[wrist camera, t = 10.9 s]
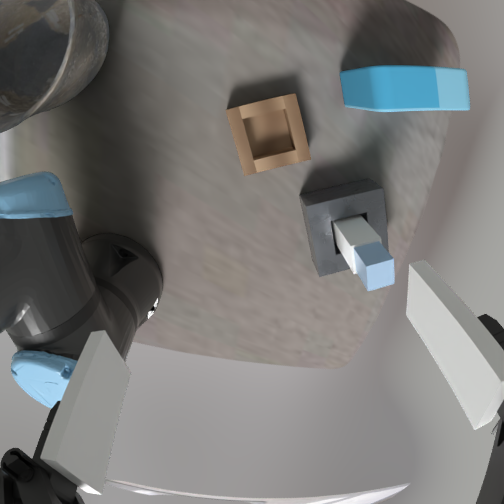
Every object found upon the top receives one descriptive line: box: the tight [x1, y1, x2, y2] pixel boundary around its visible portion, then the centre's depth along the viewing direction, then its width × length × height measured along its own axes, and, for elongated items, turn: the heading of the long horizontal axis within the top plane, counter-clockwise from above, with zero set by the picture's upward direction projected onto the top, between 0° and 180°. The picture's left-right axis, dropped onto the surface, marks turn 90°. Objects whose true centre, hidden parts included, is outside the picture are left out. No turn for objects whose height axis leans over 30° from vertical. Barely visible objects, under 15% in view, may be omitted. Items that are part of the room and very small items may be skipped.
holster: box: [226, 93, 311, 176], centre depth 36 cm, size 8×8×3 cm
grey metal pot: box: [0, 0, 109, 133], centre depth 24 cm, size 18×18×15 cm
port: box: [299, 179, 389, 277], centre depth 41 cm, size 10×10×5 cm
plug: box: [330, 214, 394, 291], centre depth 36 cm, size 4×4×13 cm
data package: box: [340, 65, 470, 112], centre depth 29 cm, size 12×4×12 cm, turn 101°
